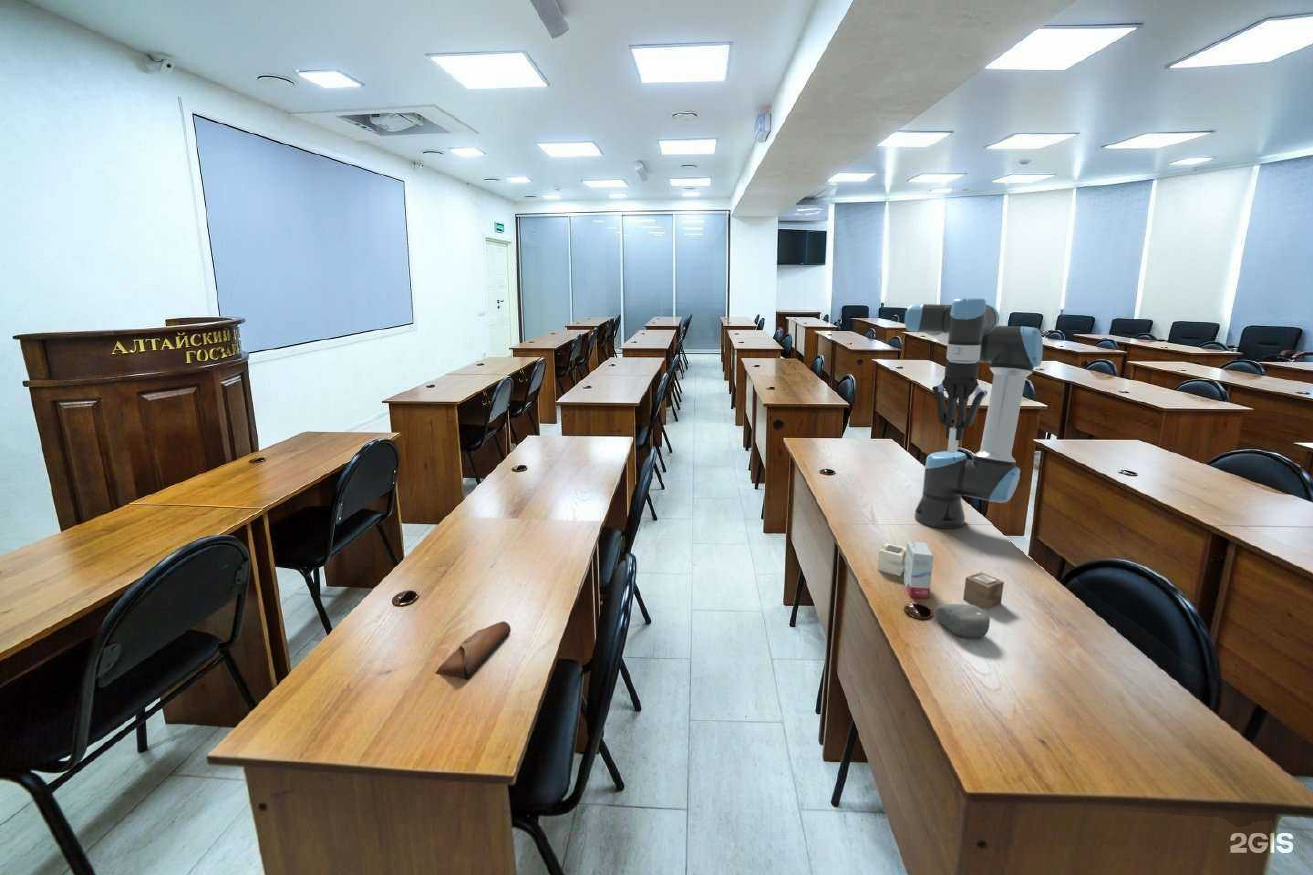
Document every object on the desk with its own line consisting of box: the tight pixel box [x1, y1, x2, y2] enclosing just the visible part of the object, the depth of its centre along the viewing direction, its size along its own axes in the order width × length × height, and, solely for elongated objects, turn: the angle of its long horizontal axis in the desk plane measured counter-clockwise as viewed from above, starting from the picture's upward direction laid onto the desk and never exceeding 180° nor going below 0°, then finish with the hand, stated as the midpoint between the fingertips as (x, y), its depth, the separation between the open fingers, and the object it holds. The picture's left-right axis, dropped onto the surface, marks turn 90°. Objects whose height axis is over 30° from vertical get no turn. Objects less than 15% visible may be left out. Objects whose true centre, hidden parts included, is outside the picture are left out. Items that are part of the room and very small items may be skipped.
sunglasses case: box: [435, 620, 512, 681], centre depth 134 cm, size 18×7×7 cm
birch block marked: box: [877, 542, 907, 577], centre depth 171 cm, size 6×6×6 cm
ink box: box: [903, 540, 934, 599], centre depth 158 cm, size 9×5×12 cm, turn 168°
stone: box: [936, 603, 991, 640], centre depth 141 cm, size 9×9×10 cm
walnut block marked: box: [963, 571, 1005, 611], centre depth 153 cm, size 6×6×6 cm
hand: (952, 451), depth 160 cm, fingers closed
